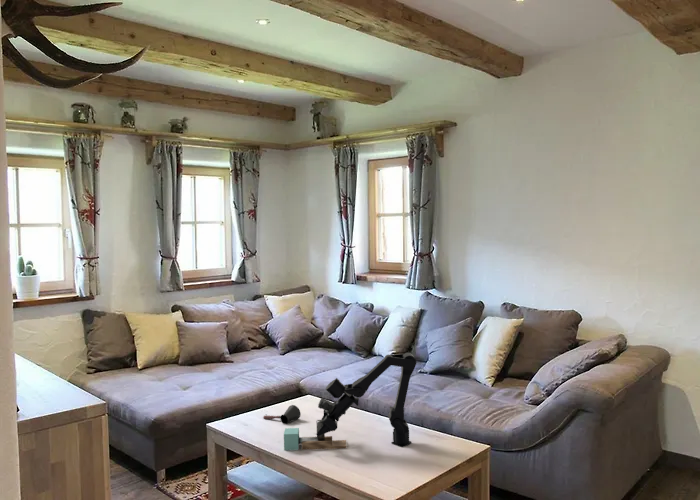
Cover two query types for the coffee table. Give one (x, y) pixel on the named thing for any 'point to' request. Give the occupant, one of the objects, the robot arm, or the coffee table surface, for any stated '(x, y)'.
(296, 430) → the socket block
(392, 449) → the coffee table surface
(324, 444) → the guide
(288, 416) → the black handbell
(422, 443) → the coffee table surface
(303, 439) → the slip rod
